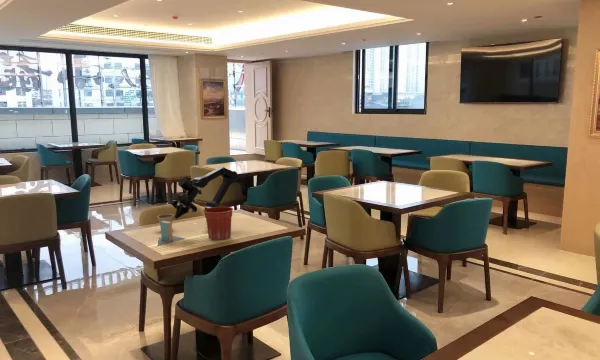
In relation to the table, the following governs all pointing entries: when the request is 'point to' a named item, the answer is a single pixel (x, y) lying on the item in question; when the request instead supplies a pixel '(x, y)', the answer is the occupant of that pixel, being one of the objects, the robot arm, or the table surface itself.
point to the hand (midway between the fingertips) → (175, 218)
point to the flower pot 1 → (165, 218)
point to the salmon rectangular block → (166, 230)
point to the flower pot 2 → (218, 222)
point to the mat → (163, 242)
